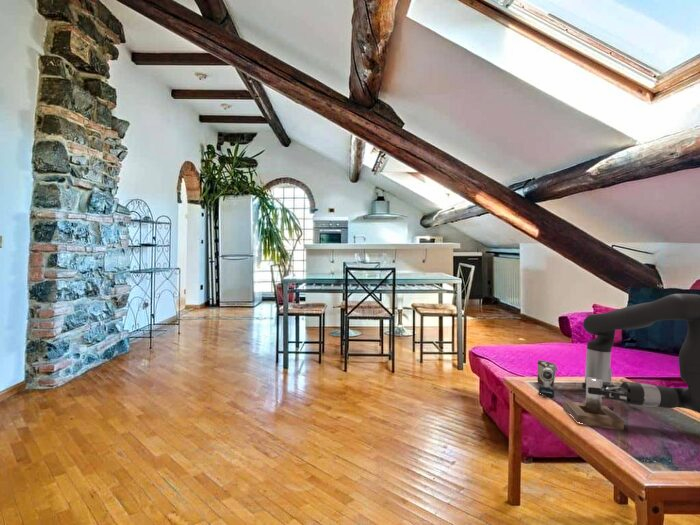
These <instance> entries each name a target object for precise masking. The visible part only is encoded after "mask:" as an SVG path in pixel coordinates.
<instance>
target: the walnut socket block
mask: <svg viewBox="0 0 700 525" xmlns="http://www.w3.org/2000/svg"><path fill="white" fill-rule="evenodd" d="M563 409H565V410H566V411H567V412H568V413H569V414H571V415H572V416H573V417H574V419H575V420H576V421H577V422H580V423H583V424H586V425H585V426H589V427H595V428H604V429H610V430H619V431H624V429H625V421H624V419H622V418H621V417H620V416H618V414H616V413H615V412H614V411H613V410H612V409H611V408H609V407H608V406H607V405H602V404H601V410H594V409H590V408H587V407H586V406H585V402H580V401H579V402H578V401H569V400H563ZM565 410H564V411H565ZM566 411H565V412H566ZM567 412H566V413H567ZM568 413H567V414H568ZM569 414H568V415H569Z"/></svg>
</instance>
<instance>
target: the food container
mask: <svg viewBox="0 0 700 525" xmlns="http://www.w3.org/2000/svg"><path fill="white" fill-rule="evenodd" d="M545 367H546V368H551V370H552V371H553V373H554V376H555V378H554V379H553V381H552V383H551V384H550V386H551V387H555V386H554V385H555V379H556V372H558V367H557V365H556V364H555V363H553V362H551V361H546V360H542V359H541V360H540V359H538V360H537V376H536V377H537V379H536V380H537V381H538V382H539V383H540V384H541V385H544V382H543V381H542V377H541V372H542V371H543V369H545ZM538 382H537V383H538ZM539 383H538V384H539ZM540 384H539V385H540Z"/></svg>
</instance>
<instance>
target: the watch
mask: <svg viewBox="0 0 700 525" xmlns="http://www.w3.org/2000/svg"><path fill="white" fill-rule="evenodd" d="M541 377H542V381H543V382H544V385H541V384H539V387H538V394H539V393H541V394H543V395H542V396H544V395H546V397H549V396H550V398H555V388H556V387H555V386H553V387H551V386H550V384H551V383H552V381H553V379H554V378H555V379H556V375H555V376H554V373H553V371H552V370H551V368H546V367H545V369H543V371H542V372H541ZM555 379H554V380H555Z"/></svg>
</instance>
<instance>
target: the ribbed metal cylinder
mask: <svg viewBox="0 0 700 525" xmlns="http://www.w3.org/2000/svg"><path fill="white" fill-rule="evenodd" d="M602 382H603V381H602V380H601V379H598V378H593V377H587V378H586V389H585V398H584V399H585V400H584V403H585V406H586V407H587V408H590V409H594V410H601V405H602V400H603V399H602V398H603V396H601V395H595V394H589V393H588V387H594V388H600V389H601V388H602Z"/></svg>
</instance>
